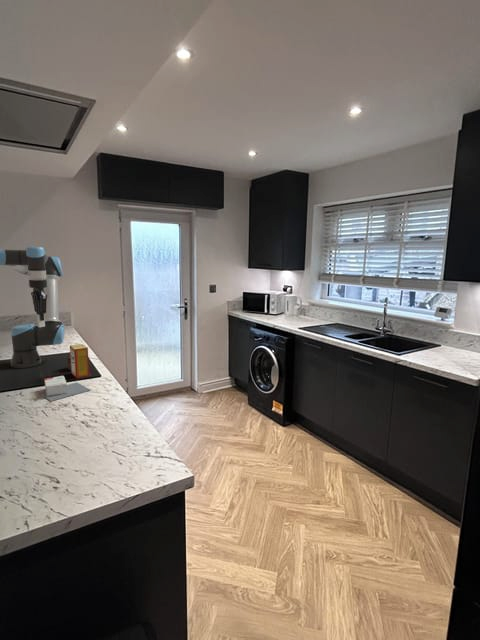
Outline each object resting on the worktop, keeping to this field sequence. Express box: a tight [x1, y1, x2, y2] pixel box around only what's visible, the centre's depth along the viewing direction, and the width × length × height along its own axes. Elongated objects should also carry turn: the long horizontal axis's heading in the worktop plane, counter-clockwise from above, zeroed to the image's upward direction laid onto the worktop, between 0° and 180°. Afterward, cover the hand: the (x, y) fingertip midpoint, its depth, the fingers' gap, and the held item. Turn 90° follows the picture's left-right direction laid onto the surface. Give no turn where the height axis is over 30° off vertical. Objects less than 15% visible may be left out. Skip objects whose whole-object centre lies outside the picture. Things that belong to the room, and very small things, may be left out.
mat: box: [38, 382, 91, 402], centre depth 166 cm, size 14×18×1 cm
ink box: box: [44, 375, 68, 396], centre depth 165 cm, size 9×5×12 cm
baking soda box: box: [69, 343, 90, 379], centre depth 188 cm, size 10×6×16 cm
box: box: [67, 356, 71, 371], centre depth 198 cm, size 6×6×7 cm
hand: (41, 326), depth 175 cm, fingers closed
